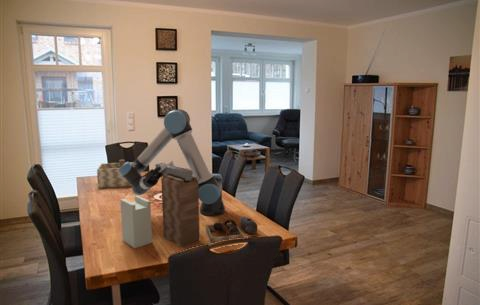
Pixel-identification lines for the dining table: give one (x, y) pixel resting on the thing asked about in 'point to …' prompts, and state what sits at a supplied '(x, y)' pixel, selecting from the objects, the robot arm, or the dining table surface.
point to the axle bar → (176, 172)
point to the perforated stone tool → (248, 225)
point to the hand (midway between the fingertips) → (168, 164)
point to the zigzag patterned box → (111, 176)
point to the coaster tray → (217, 239)
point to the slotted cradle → (136, 222)
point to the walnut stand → (180, 210)
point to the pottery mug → (225, 227)
